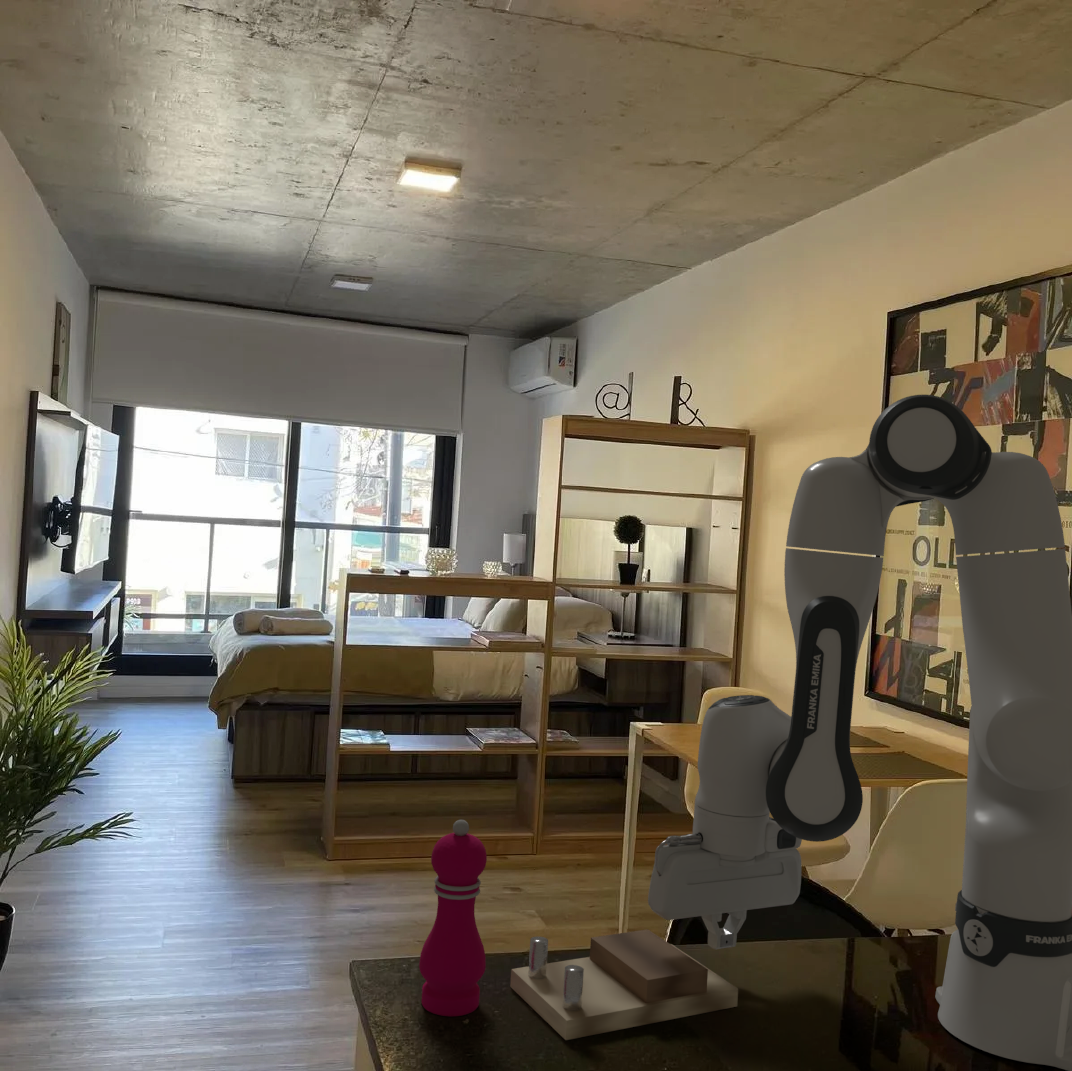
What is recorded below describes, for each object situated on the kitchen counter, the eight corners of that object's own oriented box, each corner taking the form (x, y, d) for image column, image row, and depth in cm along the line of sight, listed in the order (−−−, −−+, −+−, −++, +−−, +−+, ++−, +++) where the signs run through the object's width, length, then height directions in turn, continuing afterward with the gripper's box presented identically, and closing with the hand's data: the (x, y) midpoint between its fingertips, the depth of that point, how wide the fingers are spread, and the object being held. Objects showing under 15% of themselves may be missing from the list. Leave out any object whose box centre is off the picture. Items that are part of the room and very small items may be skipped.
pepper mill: (473, 1023, 107) (485, 832, 107) (407, 1013, 108) (419, 824, 108) (490, 994, 114) (501, 815, 114) (428, 984, 115) (439, 807, 115)
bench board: (670, 960, 126) (673, 911, 126) (737, 1006, 115) (740, 952, 115) (510, 986, 116) (513, 933, 116) (565, 1040, 104) (569, 981, 104)
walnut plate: (646, 949, 124) (647, 929, 124) (706, 991, 113) (708, 969, 113) (589, 958, 120) (590, 937, 120) (646, 1003, 109) (647, 980, 109)
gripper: (673, 845, 114) (664, 968, 114) (813, 832, 124) (804, 946, 124) (642, 829, 120) (633, 946, 120) (778, 818, 129) (770, 926, 129)
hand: (721, 946), depth 122 cm, fingers closed
